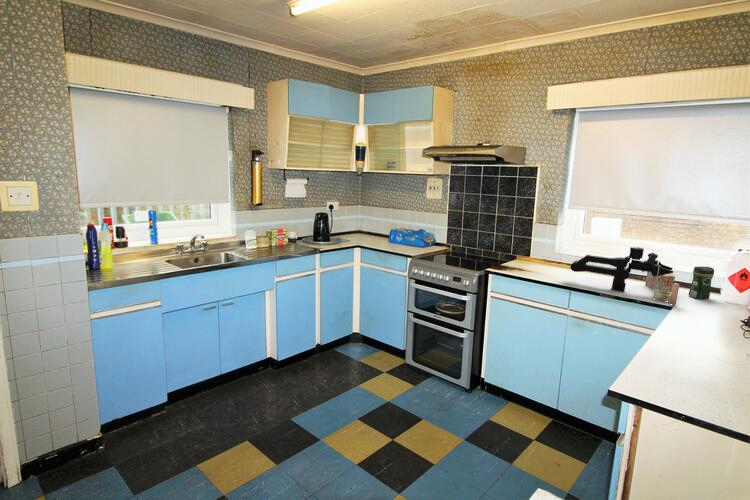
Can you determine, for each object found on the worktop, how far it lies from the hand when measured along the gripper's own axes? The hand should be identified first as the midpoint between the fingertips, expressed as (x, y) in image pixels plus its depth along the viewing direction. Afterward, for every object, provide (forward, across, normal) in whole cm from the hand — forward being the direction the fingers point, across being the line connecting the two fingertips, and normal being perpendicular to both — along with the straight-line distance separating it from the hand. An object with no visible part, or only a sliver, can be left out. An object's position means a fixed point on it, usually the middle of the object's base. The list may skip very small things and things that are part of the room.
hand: (672, 270), depth 242 cm
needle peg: (+2, -13, +17) cm, 21 cm away
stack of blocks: (-4, +16, +17) cm, 24 cm away
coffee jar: (+16, +14, +17) cm, 27 cm away
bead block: (-2, -5, +17) cm, 17 cm away
